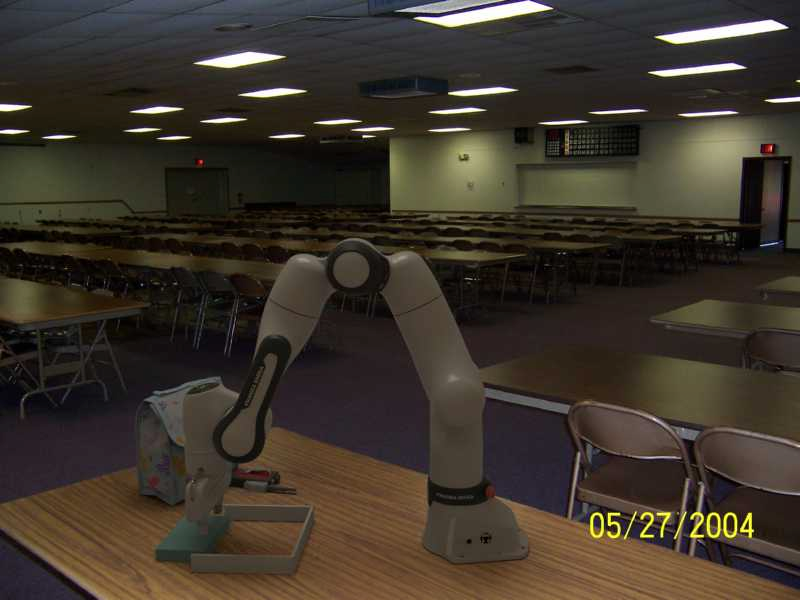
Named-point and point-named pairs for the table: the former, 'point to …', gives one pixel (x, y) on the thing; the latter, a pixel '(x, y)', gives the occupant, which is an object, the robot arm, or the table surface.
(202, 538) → the cover plate
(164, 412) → the lunch bag
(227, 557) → the grey u-shaped frame
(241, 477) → the walkie-talkie
